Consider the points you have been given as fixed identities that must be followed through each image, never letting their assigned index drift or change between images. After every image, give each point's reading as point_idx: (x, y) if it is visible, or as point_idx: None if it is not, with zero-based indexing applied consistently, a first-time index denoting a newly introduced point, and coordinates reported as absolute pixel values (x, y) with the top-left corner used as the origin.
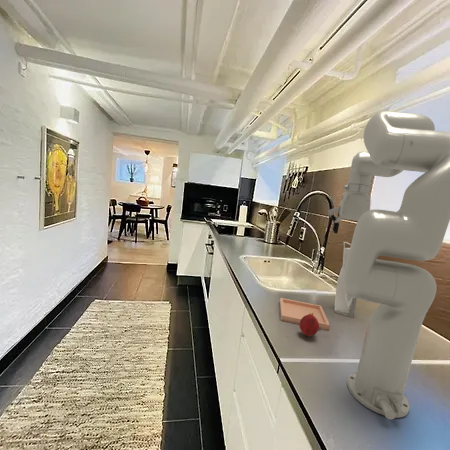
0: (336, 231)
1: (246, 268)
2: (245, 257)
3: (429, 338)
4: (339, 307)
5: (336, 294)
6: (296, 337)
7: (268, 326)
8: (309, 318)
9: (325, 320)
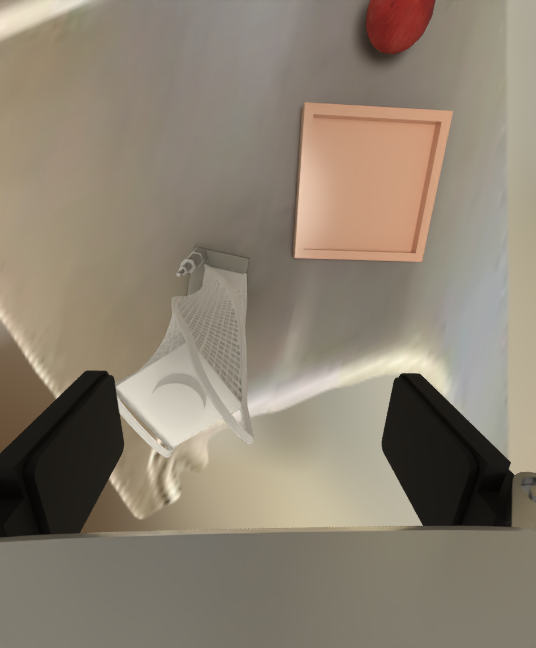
0: (421, 381)
1: None
2: None
3: None
4: (232, 276)
5: (244, 300)
6: None
7: (492, 54)
8: None
9: (310, 136)
